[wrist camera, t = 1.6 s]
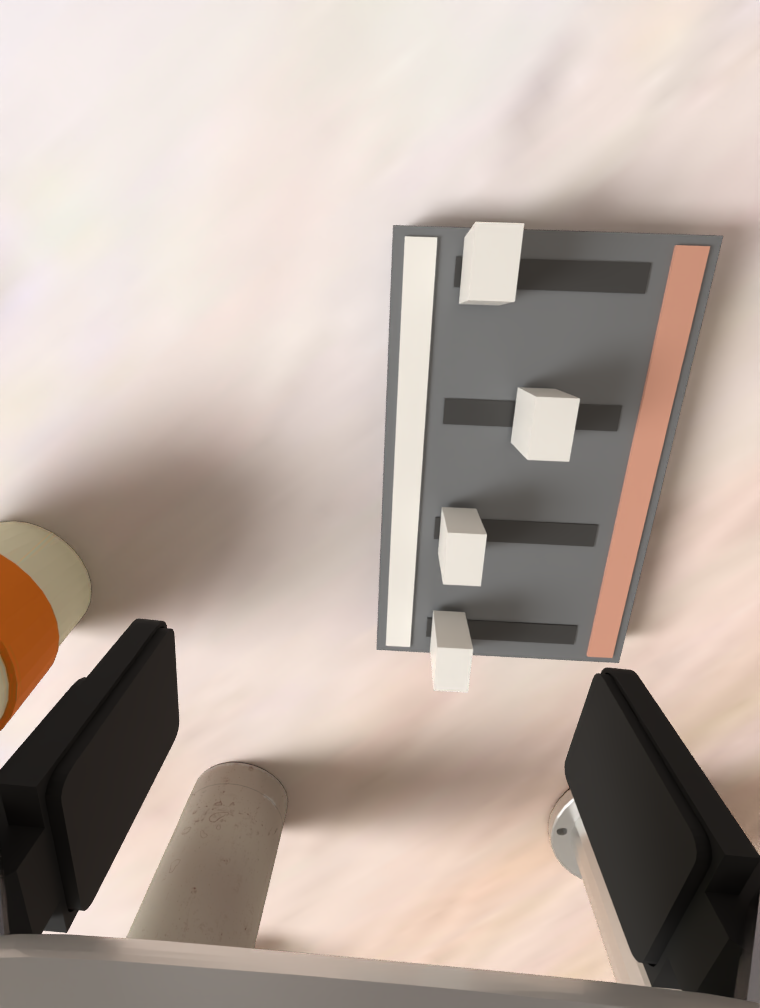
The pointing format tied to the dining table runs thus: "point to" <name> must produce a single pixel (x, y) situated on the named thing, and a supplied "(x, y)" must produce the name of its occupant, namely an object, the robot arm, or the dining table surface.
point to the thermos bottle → (217, 861)
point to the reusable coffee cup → (35, 607)
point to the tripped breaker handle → (544, 423)
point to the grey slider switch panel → (488, 429)
